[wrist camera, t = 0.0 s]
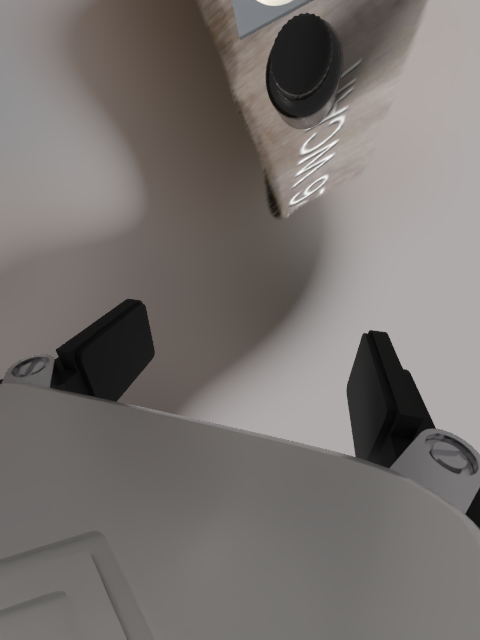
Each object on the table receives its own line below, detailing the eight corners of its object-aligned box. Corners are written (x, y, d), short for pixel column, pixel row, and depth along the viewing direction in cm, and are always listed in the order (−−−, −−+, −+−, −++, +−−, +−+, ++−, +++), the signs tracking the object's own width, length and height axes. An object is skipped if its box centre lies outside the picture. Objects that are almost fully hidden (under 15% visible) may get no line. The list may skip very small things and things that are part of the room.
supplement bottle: (349, 66, 28) (368, 12, 18) (318, 138, 32) (320, 126, 22) (291, 42, 28) (278, -25, 18) (267, 117, 32) (246, 95, 22)
